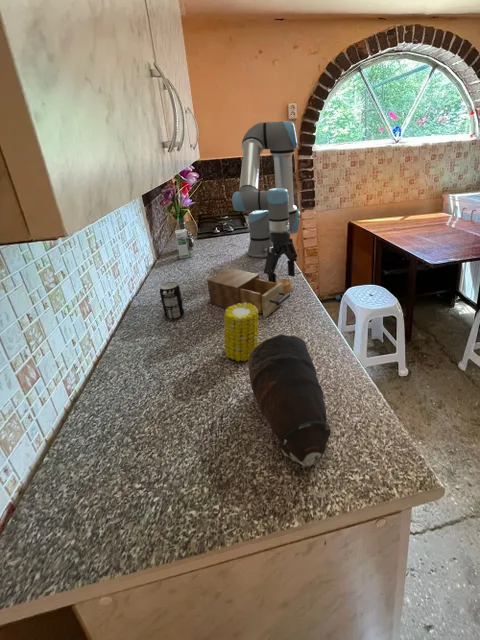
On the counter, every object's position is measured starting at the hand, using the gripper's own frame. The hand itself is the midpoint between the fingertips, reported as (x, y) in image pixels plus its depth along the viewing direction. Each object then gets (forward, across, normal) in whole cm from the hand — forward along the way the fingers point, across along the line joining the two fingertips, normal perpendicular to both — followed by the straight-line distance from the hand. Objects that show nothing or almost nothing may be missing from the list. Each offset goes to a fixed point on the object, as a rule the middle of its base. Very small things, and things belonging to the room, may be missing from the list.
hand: (282, 282), depth 123 cm
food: (+4, -38, -11) cm, 40 cm away
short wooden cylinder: (+4, 0, 0) cm, 4 cm away
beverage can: (+4, -34, +24) cm, 42 cm away
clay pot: (+4, -51, -35) cm, 62 cm away
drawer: (+3, -15, -2) cm, 15 cm away
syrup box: (+4, +10, +70) cm, 71 cm away
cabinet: (+4, -15, +12) cm, 19 cm away
